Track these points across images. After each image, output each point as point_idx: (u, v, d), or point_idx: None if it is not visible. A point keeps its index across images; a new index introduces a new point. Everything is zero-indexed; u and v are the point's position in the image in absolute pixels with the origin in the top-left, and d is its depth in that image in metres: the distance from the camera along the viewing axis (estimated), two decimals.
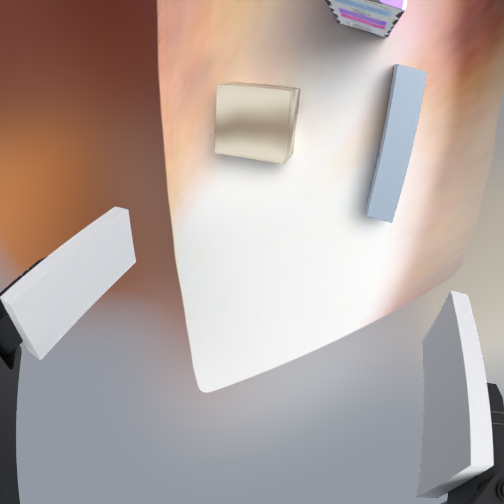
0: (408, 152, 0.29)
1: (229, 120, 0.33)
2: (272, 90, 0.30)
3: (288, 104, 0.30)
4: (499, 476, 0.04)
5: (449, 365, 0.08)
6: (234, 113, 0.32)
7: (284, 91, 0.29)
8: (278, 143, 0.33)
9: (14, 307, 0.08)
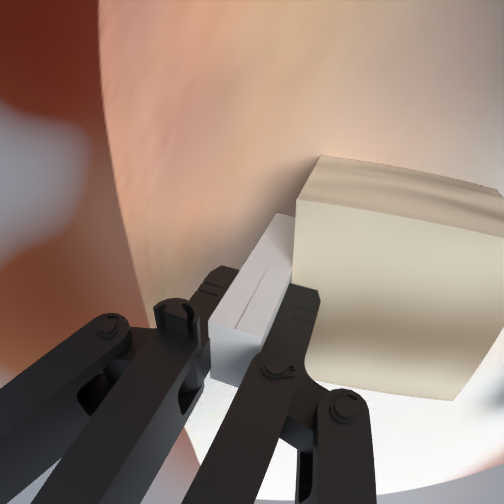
0: None
1: (336, 315, 0.11)
2: (495, 241, 0.07)
3: None
4: (259, 357, 0.07)
5: None
6: (354, 297, 0.10)
7: None
8: (460, 369, 0.10)
9: (236, 331, 0.08)
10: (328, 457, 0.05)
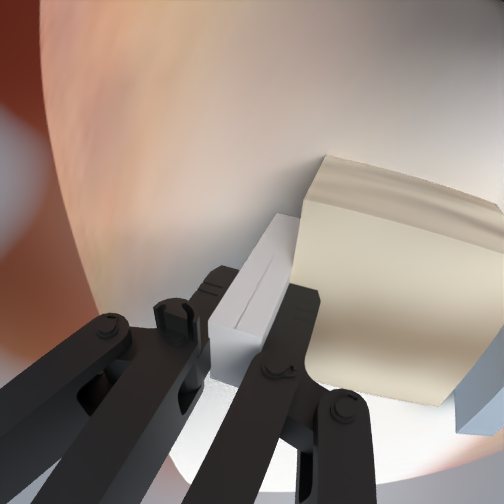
0: None
1: (331, 316, 0.11)
2: (494, 256, 0.08)
3: None
4: (259, 357, 0.07)
5: None
6: (352, 300, 0.10)
7: None
8: (448, 376, 0.10)
9: (236, 331, 0.08)
10: (328, 457, 0.05)
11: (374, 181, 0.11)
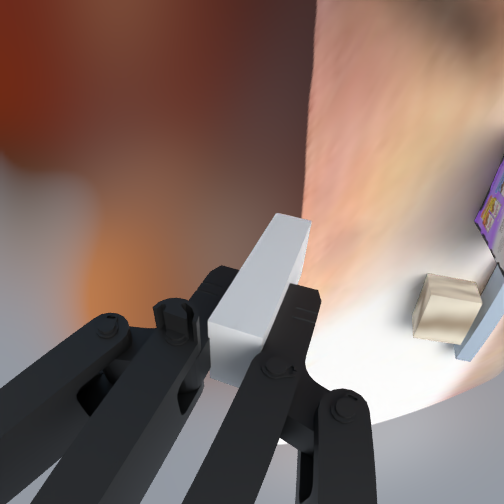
0: (495, 324, 0.35)
1: (432, 319, 0.38)
2: (470, 302, 0.35)
3: (478, 311, 0.35)
4: (260, 357, 0.07)
5: None
6: (438, 314, 0.37)
7: (478, 303, 0.34)
8: (462, 333, 0.37)
9: (236, 331, 0.08)
10: (328, 457, 0.05)
11: (442, 283, 0.38)
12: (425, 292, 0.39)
